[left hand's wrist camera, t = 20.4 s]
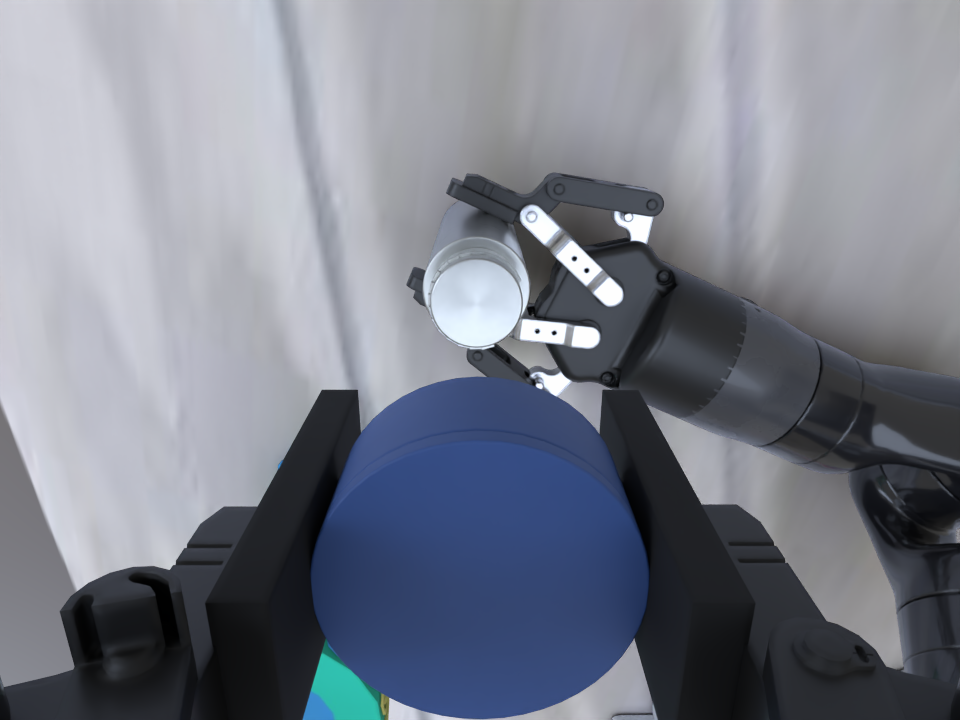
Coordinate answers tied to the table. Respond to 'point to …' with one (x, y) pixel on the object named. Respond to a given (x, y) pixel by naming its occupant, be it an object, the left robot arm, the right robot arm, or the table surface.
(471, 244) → the grey metal cylinder
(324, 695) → the decorative hourglass
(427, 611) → the lid
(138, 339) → the table surface
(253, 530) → the left robot arm
